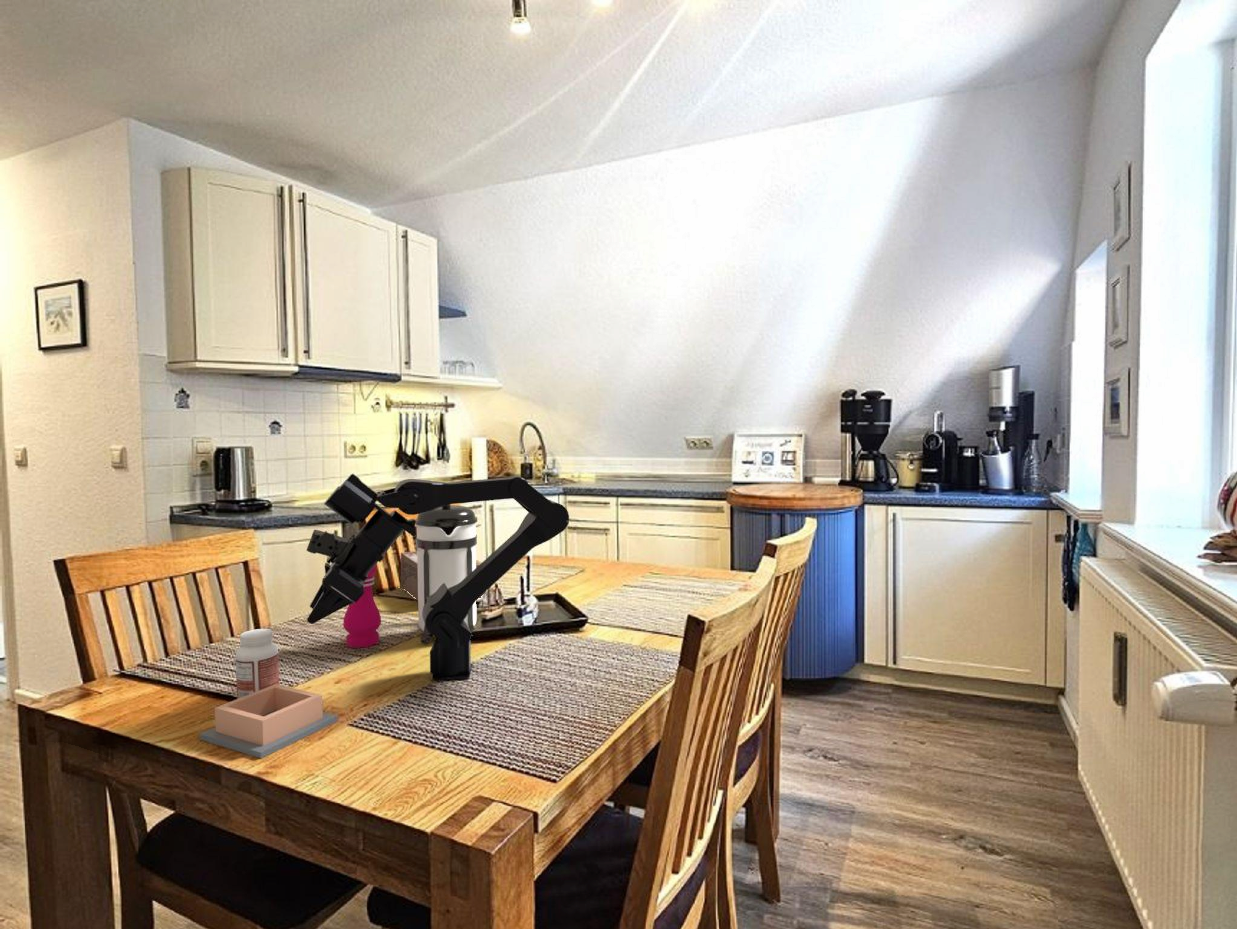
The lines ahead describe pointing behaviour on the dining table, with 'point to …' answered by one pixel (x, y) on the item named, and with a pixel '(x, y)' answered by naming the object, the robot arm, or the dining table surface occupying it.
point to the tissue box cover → (412, 572)
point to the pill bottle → (256, 662)
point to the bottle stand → (268, 720)
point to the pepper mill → (363, 617)
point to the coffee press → (444, 554)
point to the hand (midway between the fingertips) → (310, 614)
